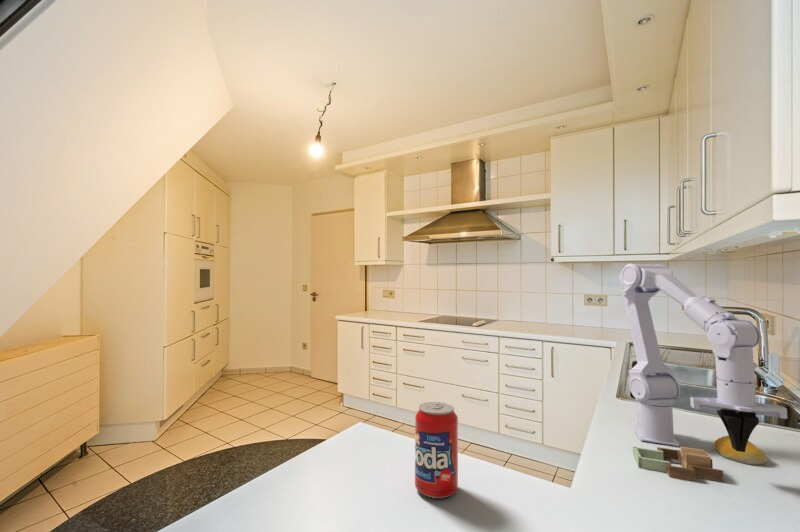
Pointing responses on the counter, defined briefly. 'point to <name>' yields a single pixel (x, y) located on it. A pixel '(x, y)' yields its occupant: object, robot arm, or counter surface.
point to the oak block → (694, 457)
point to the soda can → (436, 450)
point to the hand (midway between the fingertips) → (738, 449)
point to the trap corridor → (663, 460)
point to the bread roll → (748, 457)
